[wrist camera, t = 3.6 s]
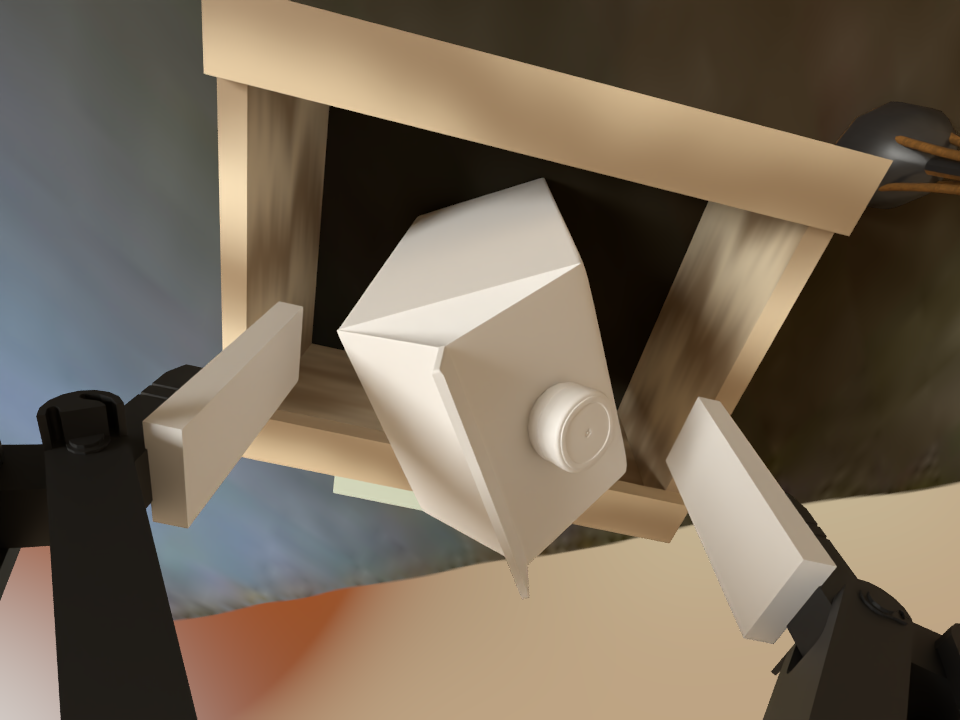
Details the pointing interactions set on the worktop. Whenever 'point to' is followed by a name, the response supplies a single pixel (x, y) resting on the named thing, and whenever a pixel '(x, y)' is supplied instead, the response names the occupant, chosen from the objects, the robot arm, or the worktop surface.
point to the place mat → (375, 492)
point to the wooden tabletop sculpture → (907, 151)
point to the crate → (531, 131)
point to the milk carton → (491, 371)
